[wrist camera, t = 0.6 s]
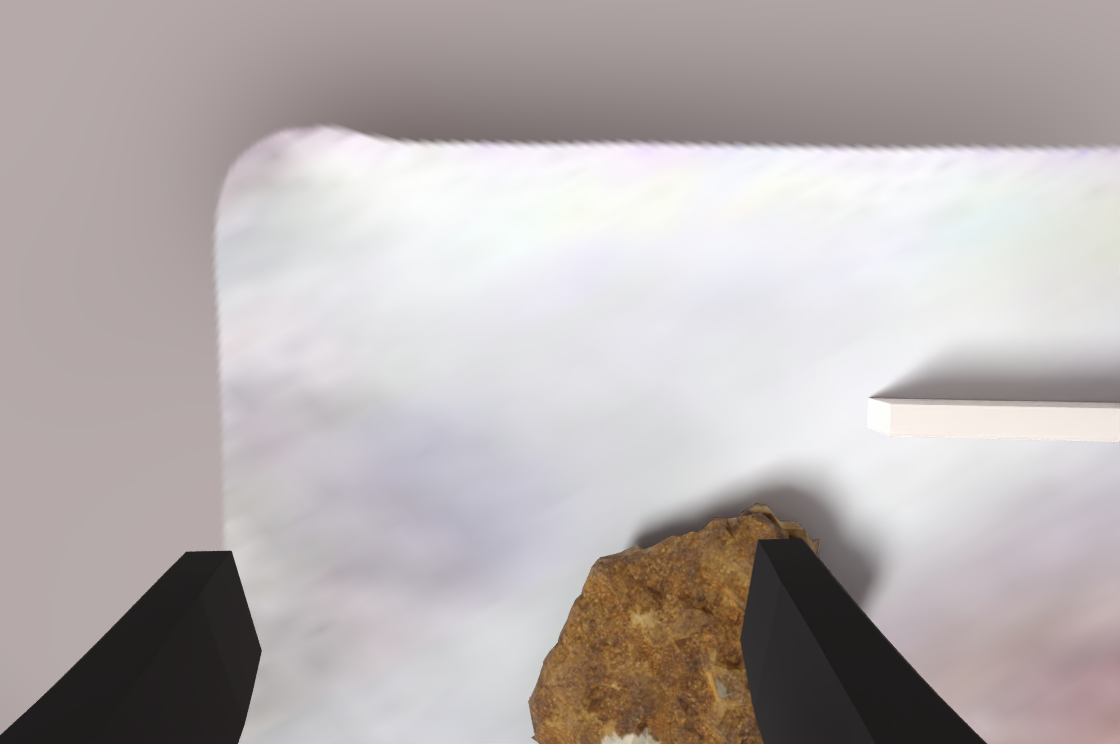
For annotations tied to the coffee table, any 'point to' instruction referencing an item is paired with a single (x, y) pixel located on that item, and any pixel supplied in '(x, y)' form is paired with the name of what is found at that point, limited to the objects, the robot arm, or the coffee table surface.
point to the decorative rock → (659, 643)
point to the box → (995, 419)
